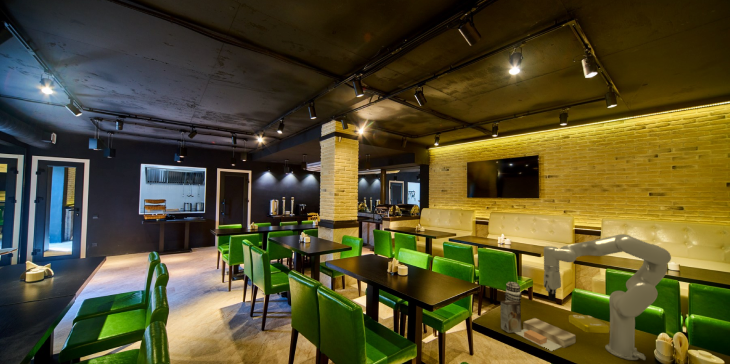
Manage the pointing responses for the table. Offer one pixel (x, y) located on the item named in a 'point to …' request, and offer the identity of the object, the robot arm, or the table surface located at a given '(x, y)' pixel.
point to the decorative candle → (513, 292)
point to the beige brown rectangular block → (550, 332)
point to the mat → (548, 344)
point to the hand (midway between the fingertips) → (552, 300)
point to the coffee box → (510, 316)
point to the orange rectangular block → (535, 337)
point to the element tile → (588, 324)
